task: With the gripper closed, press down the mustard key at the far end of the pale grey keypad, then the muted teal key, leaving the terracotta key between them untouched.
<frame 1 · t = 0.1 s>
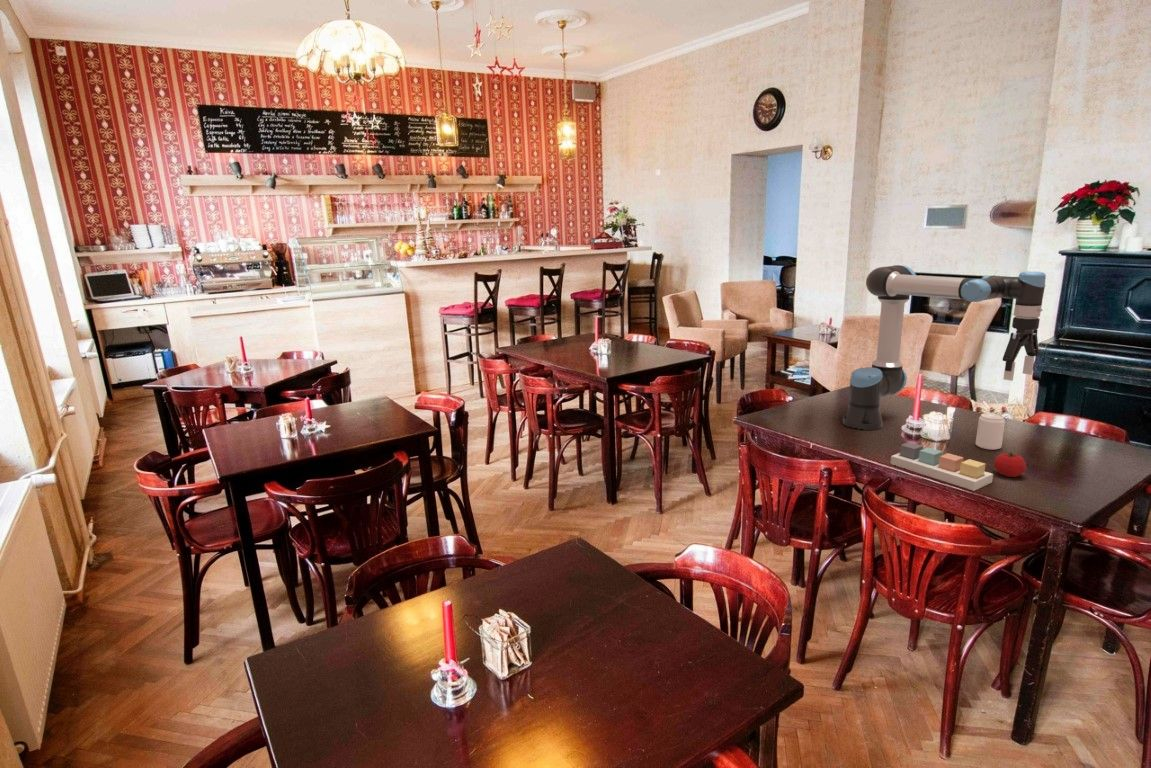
hand: (1017, 377, 222), 28 cm above the table, fingers open, 13 cm apart
tomato: (1008, 475, 209), on the table
key2: (930, 457, 214), point 5 cm above the table, slide at 0.0 cm
keypad: (939, 472, 212), on the table
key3: (950, 463, 208), point 5 cm above the table, slide at 0.0 cm
beverage can: (988, 447, 234), on the table
key4: (972, 469, 203), point 5 cm above the table, slide at 0.0 cm
key1: (911, 451, 220), point 5 cm above the table, slide at 0.0 cm
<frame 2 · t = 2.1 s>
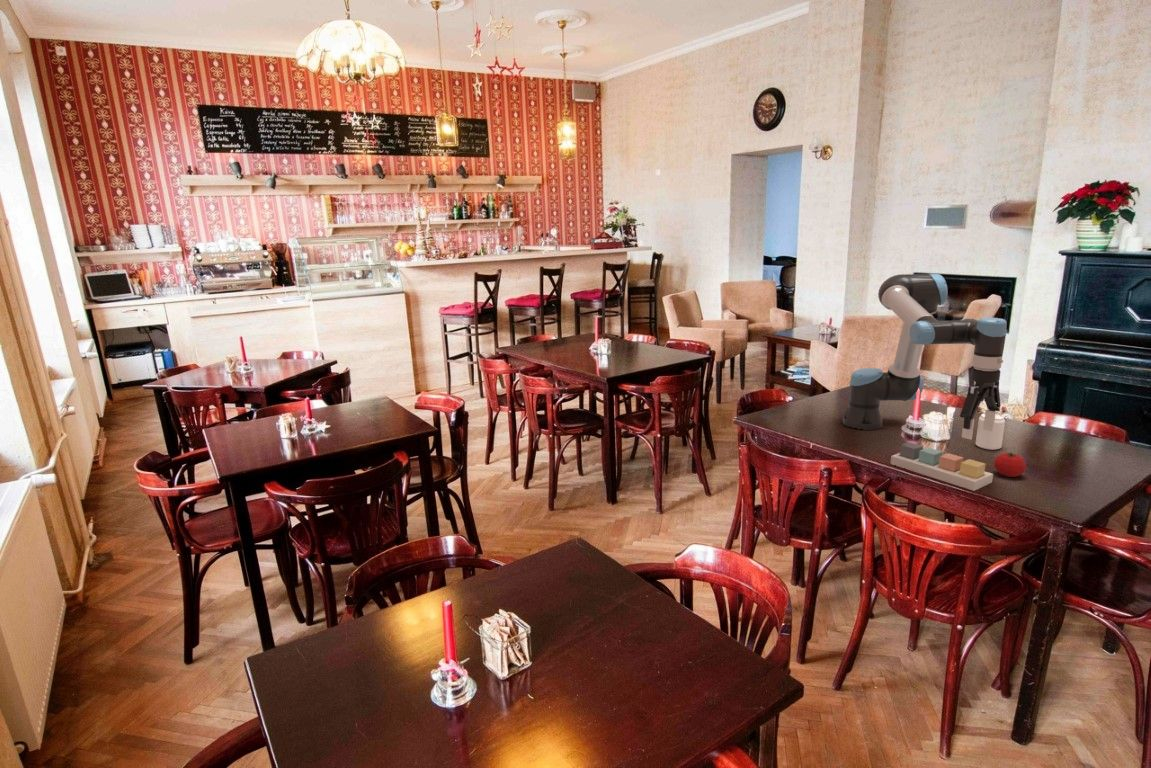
hand: (977, 434, 200), 17 cm above the table, fingers open, 12 cm apart
nothing on the table moved.
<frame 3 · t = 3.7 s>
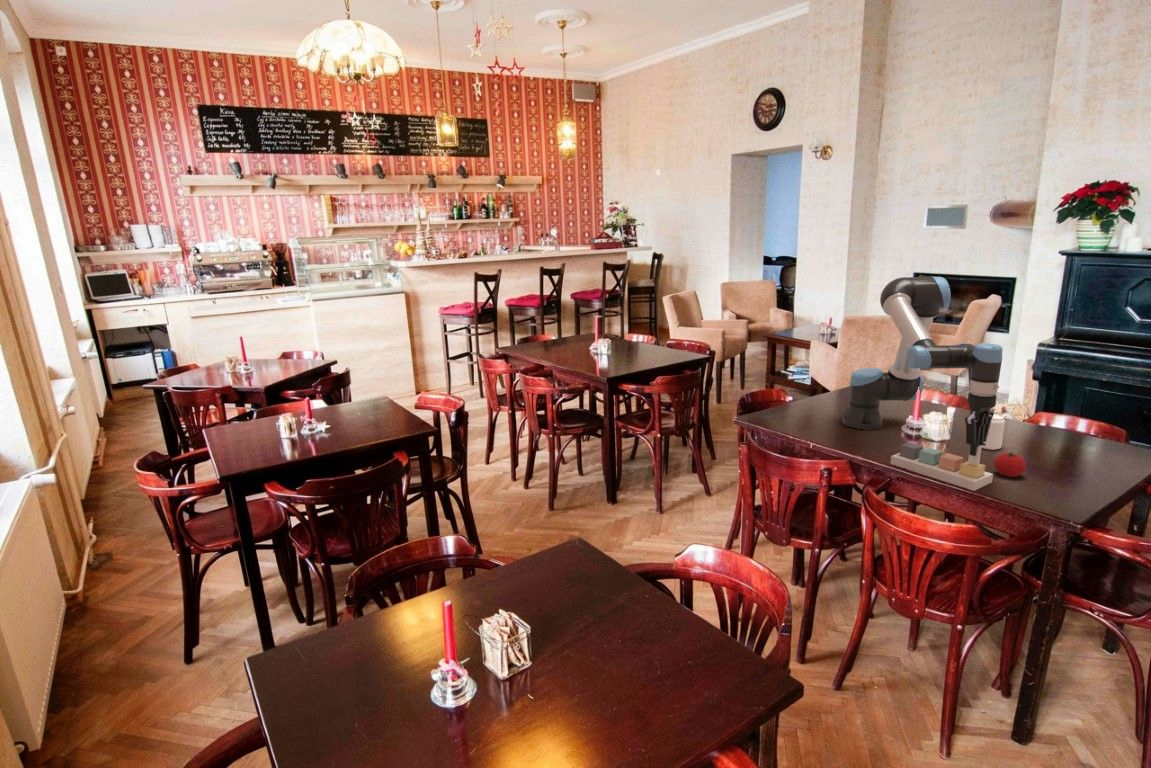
hand: (973, 464, 202), 7 cm above the table, fingers closed
key4: (972, 471, 203), point 4 cm above the table, slide at 0.5 cm, touching gripper
everything else where it was.
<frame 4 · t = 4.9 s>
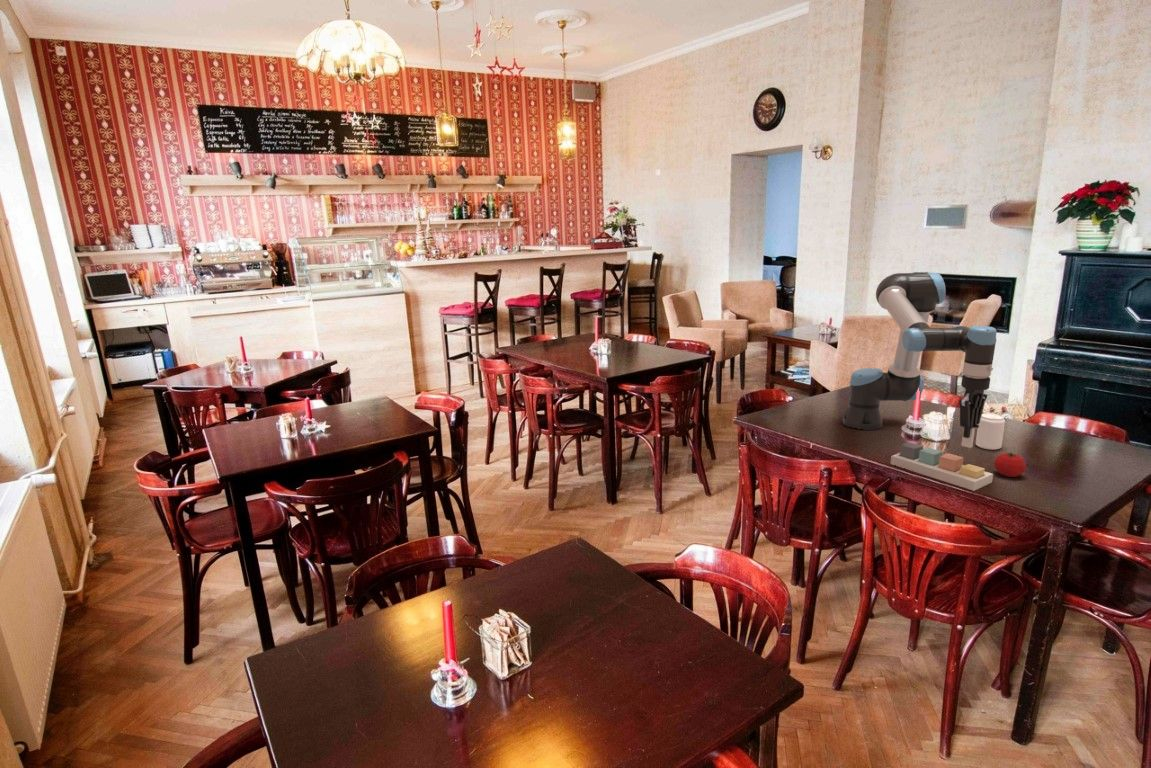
hand: (966, 446, 203), 12 cm above the table, fingers closed
key4: (971, 474, 203), point 3 cm above the table, slide at 1.7 cm
everything else where it was.
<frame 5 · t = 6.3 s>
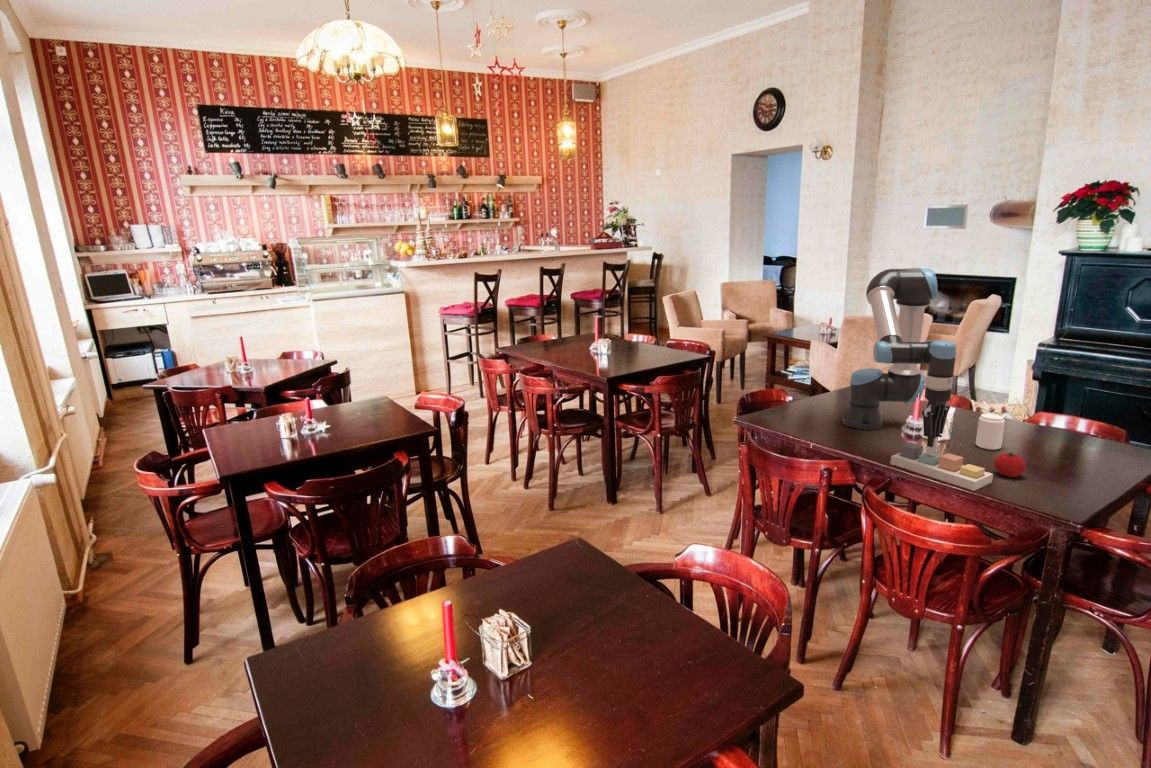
hand: (930, 454, 214), 5 cm above the table, fingers closed
key2: (930, 461, 214), point 3 cm above the table, slide at 1.6 cm, touching gripper
everything else where it was.
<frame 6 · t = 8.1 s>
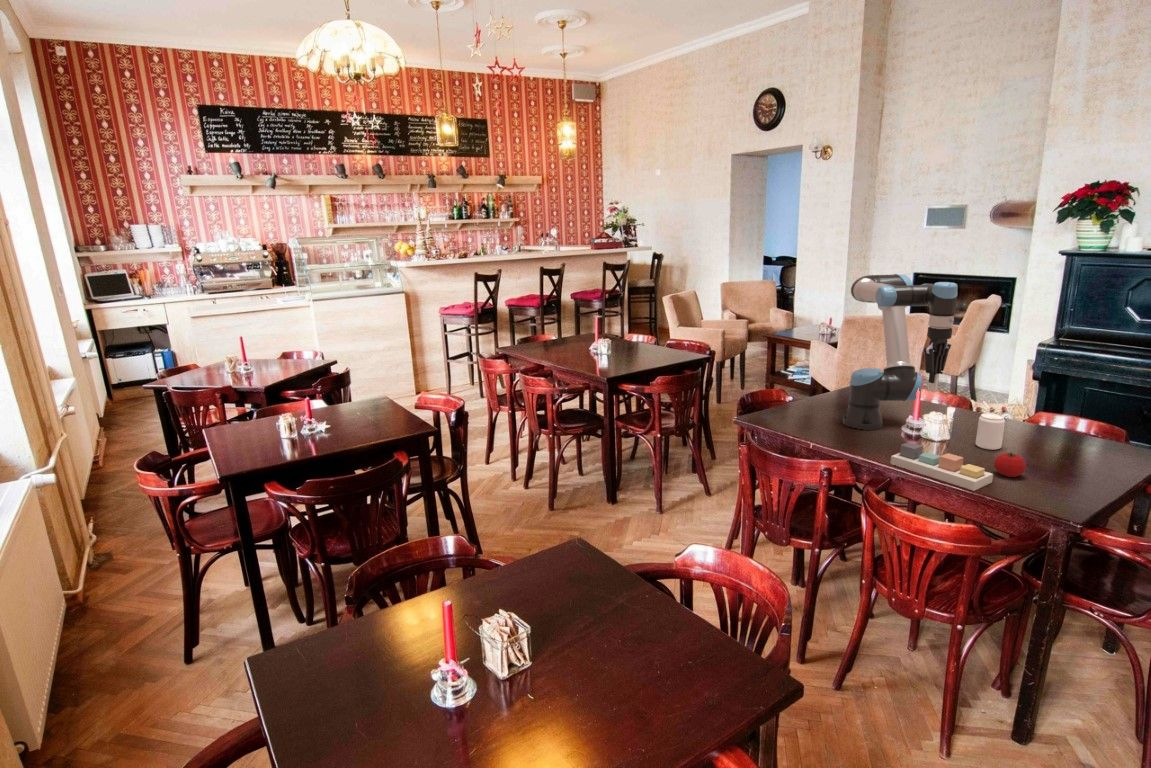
hand: (932, 390, 228), 23 cm above the table, fingers closed
key2: (930, 461, 214), point 3 cm above the table, slide at 1.7 cm
everything else where it was.
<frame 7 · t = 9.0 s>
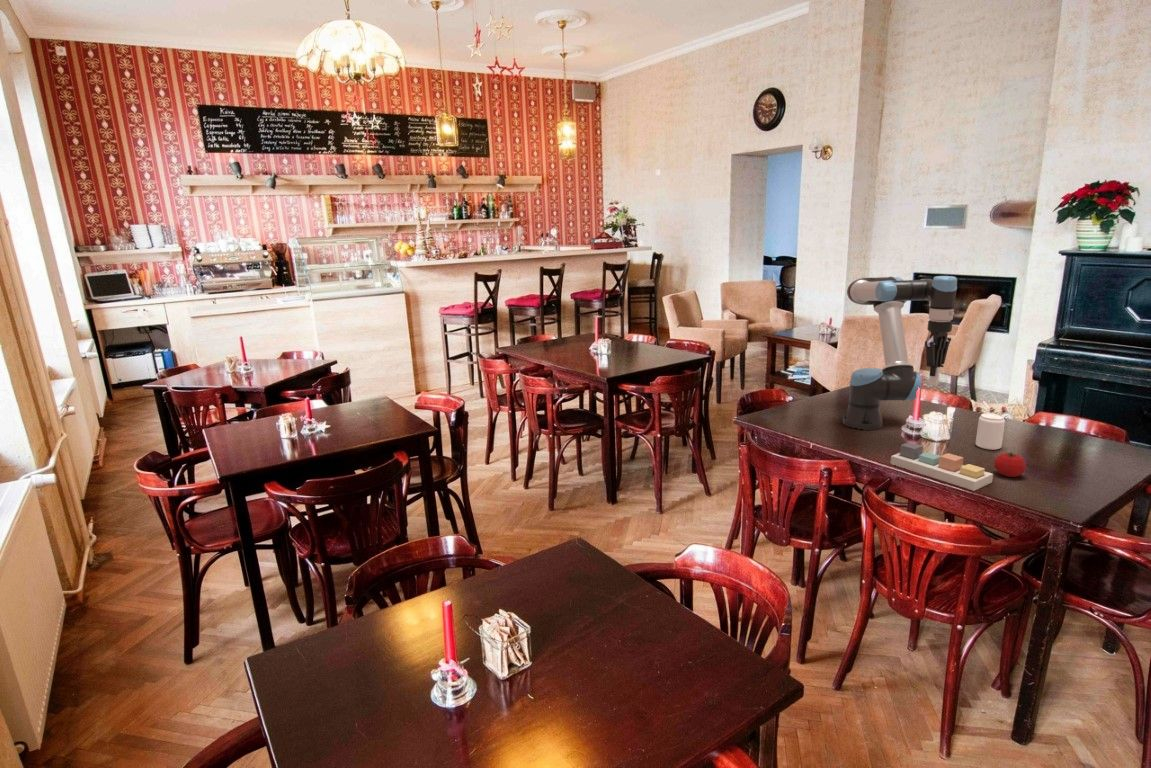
hand: (933, 384, 230), 24 cm above the table, fingers closed
nothing on the table moved.
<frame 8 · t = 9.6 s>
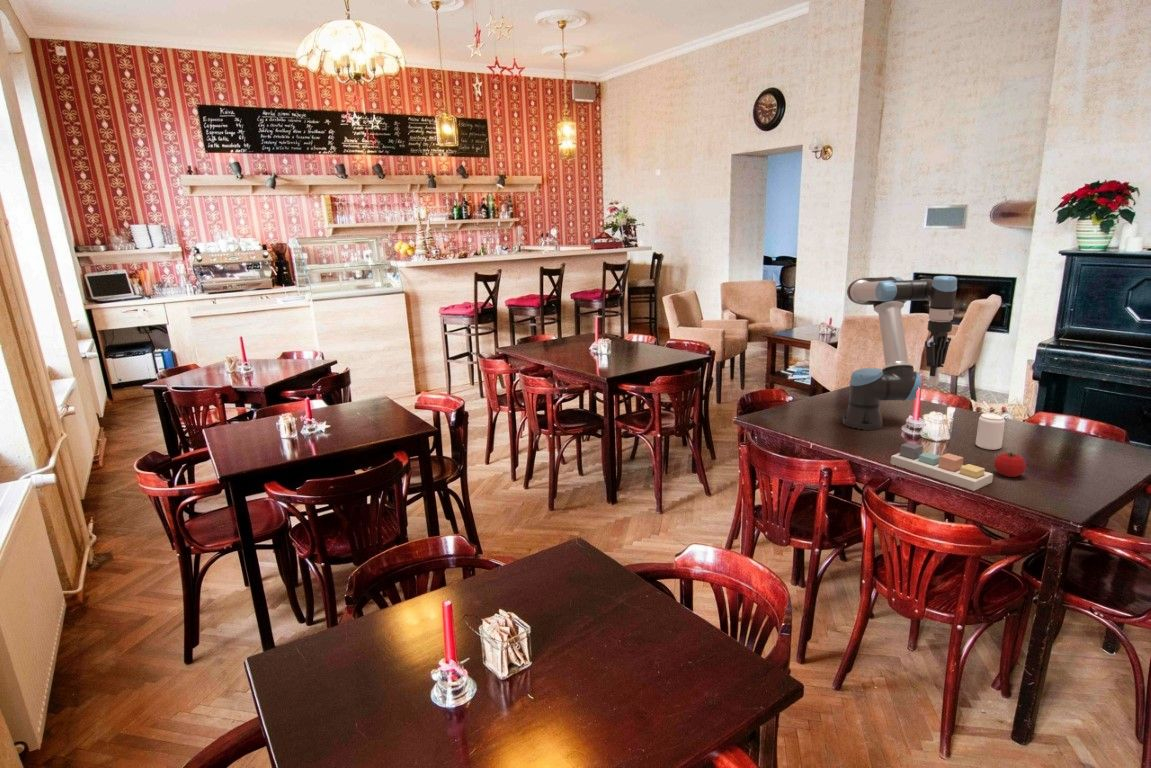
hand: (933, 384, 230), 24 cm above the table, fingers closed
nothing on the table moved.
at the end: key4 slide at 1.7 cm; key2 slide at 1.7 cm; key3 slide at 0.0 cm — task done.
